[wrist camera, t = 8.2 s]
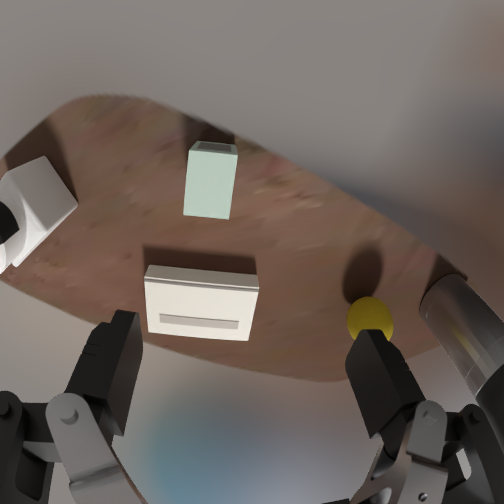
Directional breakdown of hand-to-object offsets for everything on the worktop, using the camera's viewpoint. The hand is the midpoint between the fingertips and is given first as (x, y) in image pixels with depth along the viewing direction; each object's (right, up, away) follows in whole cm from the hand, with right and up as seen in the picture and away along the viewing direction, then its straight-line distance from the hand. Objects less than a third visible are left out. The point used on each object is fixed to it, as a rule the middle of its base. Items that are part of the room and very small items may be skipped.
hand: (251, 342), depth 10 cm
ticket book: (-6, -2, +23) cm, 24 cm away
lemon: (+14, -3, +26) cm, 30 cm away
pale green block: (-4, +11, +16) cm, 20 cm away
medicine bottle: (-23, +9, +16) cm, 29 cm away
